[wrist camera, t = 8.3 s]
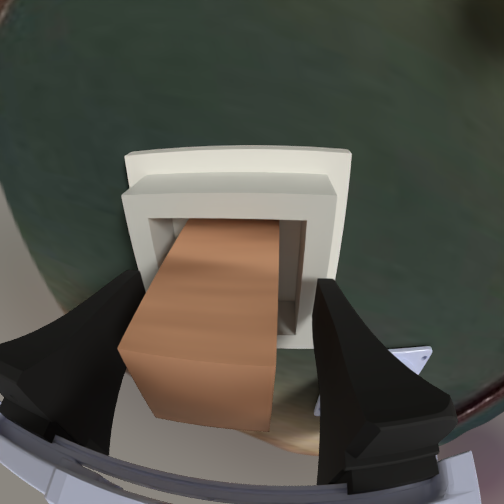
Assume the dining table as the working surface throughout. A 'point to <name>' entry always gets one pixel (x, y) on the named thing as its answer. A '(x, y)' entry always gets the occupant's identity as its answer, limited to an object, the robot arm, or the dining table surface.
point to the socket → (246, 211)
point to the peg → (210, 326)
